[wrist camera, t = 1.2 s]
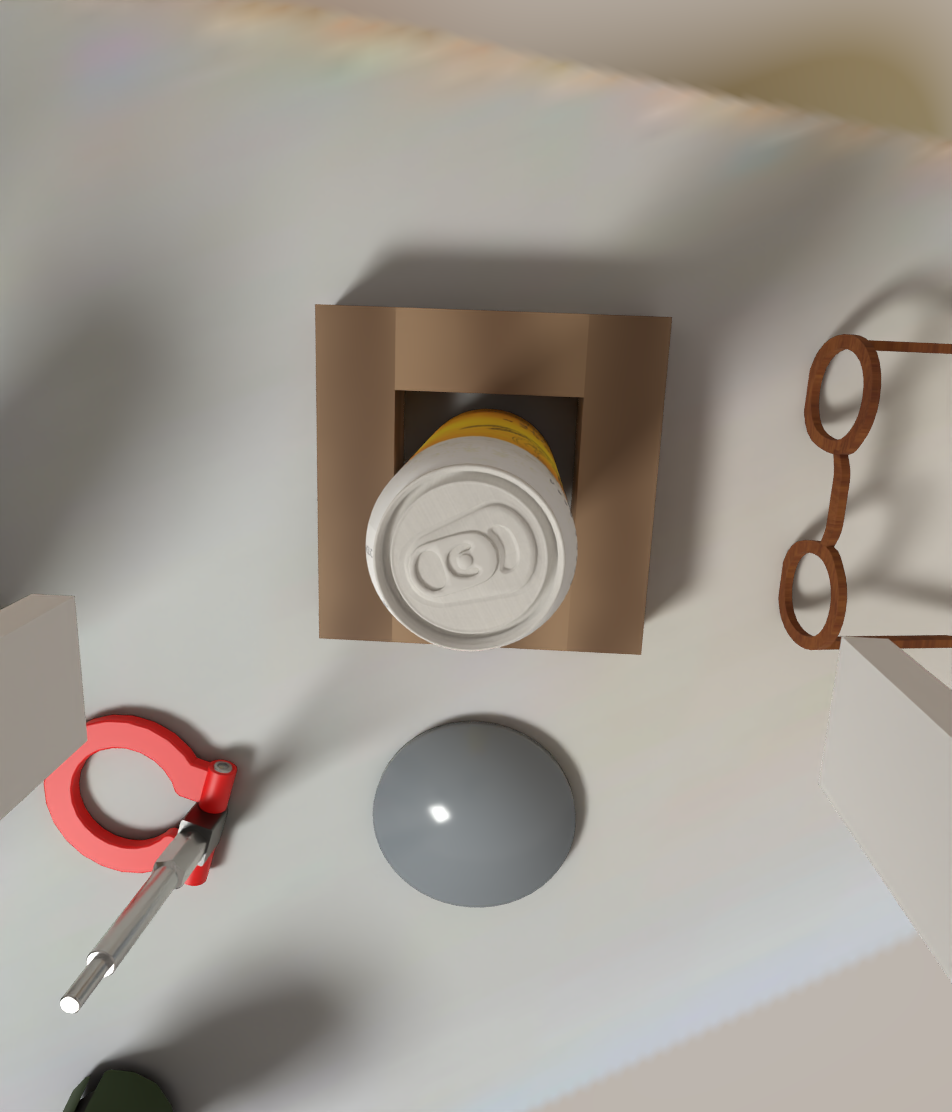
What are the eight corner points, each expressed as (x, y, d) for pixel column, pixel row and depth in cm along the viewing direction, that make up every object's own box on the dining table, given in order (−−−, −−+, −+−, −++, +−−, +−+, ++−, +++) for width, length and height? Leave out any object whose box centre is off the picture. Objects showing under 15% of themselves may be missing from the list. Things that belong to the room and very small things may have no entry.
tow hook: (43, 829, 43) (209, 887, 43) (-165, 1018, 31) (68, 1101, 31) (73, 688, 41) (248, 748, 41) (-136, 829, 29) (114, 917, 29)
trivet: (374, 893, 43) (372, 900, 42) (375, 715, 40) (373, 721, 40) (568, 905, 42) (568, 913, 42) (581, 727, 40) (582, 732, 39)
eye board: (333, 616, 39) (319, 638, 36) (331, 307, 36) (315, 304, 33) (631, 631, 39) (641, 654, 36) (659, 319, 35) (672, 317, 32)
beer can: (572, 519, 37) (607, 630, 23) (445, 557, 38) (401, 690, 24) (532, 388, 36) (542, 419, 22) (401, 431, 37) (326, 489, 22)
